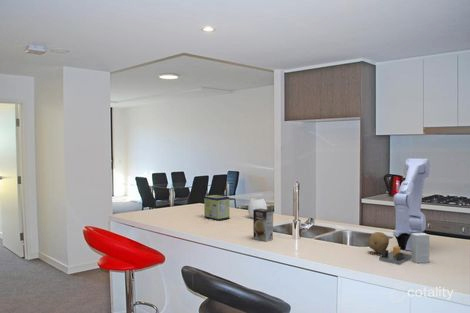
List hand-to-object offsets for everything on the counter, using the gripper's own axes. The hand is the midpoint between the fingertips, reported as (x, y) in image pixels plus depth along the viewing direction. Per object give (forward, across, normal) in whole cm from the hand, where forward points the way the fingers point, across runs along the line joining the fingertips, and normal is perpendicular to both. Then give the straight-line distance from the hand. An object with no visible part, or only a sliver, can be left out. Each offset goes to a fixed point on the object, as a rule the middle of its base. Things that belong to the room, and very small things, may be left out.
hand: (402, 249), depth 182 cm
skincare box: (+3, -3, -9) cm, 10 cm away
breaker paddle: (+1, -6, 0) cm, 6 cm away
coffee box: (+3, -19, +67) cm, 70 cm away
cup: (+3, +26, +112) cm, 115 cm away
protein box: (+3, +5, +131) cm, 131 cm away
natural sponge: (+3, -3, +10) cm, 11 cm away
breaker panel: (+3, -7, 0) cm, 8 cm away
